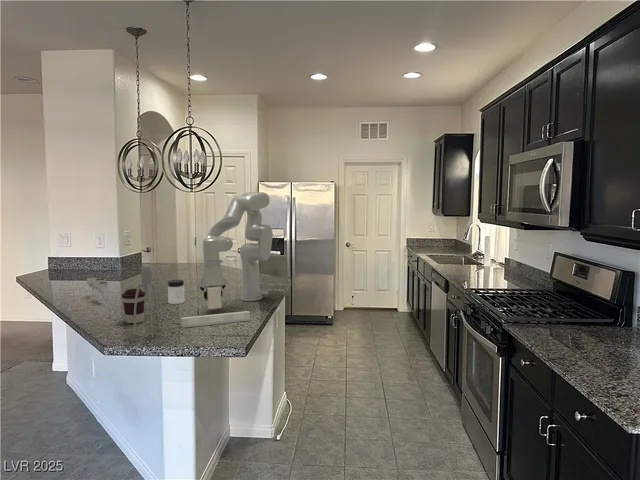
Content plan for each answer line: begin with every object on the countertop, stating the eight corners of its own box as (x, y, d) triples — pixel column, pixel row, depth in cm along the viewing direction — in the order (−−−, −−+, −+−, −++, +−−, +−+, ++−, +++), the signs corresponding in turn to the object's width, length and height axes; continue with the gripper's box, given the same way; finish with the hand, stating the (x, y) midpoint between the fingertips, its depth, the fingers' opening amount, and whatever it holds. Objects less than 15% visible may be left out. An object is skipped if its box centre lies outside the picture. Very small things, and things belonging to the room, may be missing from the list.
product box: (218, 302, 224) (217, 283, 223) (221, 307, 214) (220, 287, 213) (206, 303, 222) (205, 284, 221) (208, 309, 212) (207, 288, 211)
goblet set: (111, 304, 238) (110, 280, 237) (100, 306, 234) (98, 281, 233) (97, 296, 259) (96, 274, 258) (86, 297, 255) (85, 275, 254)
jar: (170, 304, 234) (169, 283, 233) (166, 302, 241) (165, 280, 240) (187, 302, 239) (186, 281, 238) (182, 299, 246) (181, 278, 245)
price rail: (249, 319, 204) (248, 311, 204) (250, 320, 202) (249, 312, 202) (182, 326, 194) (181, 317, 193) (182, 328, 191) (182, 319, 191)
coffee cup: (123, 325, 196) (121, 293, 195) (123, 320, 205) (121, 288, 204) (146, 323, 200) (145, 290, 199) (146, 317, 209) (144, 287, 208)
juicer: (138, 331, 188) (135, 262, 185) (160, 330, 188) (157, 261, 186) (130, 338, 177) (126, 265, 175) (153, 337, 178) (149, 265, 175)
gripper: (228, 261, 222) (229, 295, 224) (193, 263, 216) (194, 298, 218) (230, 263, 215) (231, 298, 217) (194, 265, 209) (196, 302, 211)
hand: (213, 298), depth 218 cm, fingers closed on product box, 6 cm apart
